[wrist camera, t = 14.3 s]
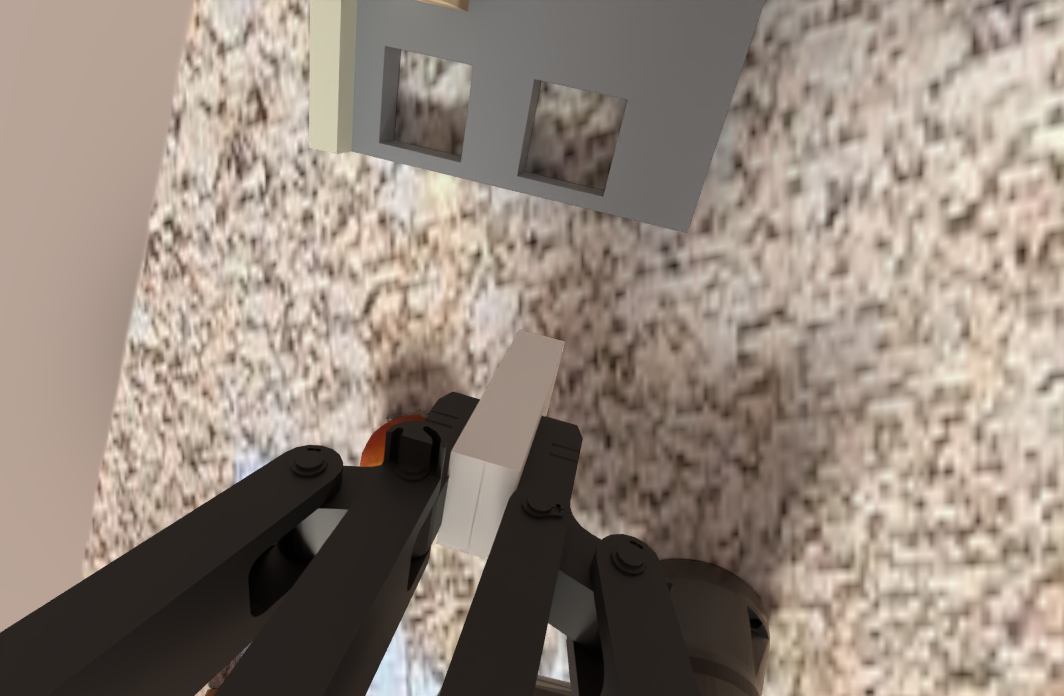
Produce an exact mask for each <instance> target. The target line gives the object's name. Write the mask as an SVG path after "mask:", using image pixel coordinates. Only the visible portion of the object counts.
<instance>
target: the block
mask: <svg viewBox="0 0 1064 696" xmlns="http://www.w3.org/2000/svg"><path fill="white" fill-rule="evenodd" d="M417 1H421V2H426V3H430V4H434V5H439V6H443V7H448V8H452V9H457V10H461V11H465V12H468V6H469V0H417Z"/></svg>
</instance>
